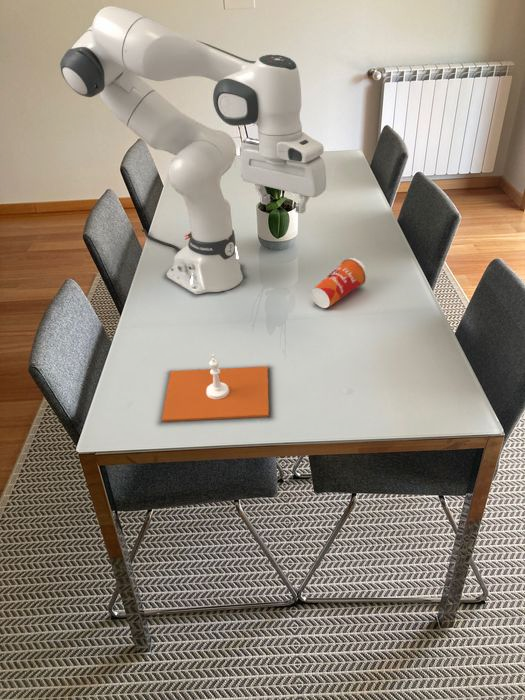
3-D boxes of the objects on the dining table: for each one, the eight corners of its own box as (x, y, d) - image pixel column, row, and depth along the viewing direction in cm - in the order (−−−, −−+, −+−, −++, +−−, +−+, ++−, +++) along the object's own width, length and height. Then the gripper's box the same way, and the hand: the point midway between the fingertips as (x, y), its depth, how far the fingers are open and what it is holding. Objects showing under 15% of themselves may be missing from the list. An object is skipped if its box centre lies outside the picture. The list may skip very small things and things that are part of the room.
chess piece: (229, 383, 131) (224, 346, 125) (229, 398, 127) (224, 361, 121) (206, 385, 131) (201, 348, 125) (205, 400, 127) (200, 362, 121)
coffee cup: (309, 278, 151) (346, 251, 159) (306, 301, 158) (341, 274, 165) (335, 295, 148) (371, 266, 155) (331, 317, 154) (366, 289, 162)
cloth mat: (162, 421, 123) (161, 419, 123) (171, 373, 136) (170, 371, 136) (268, 416, 123) (268, 414, 123) (267, 368, 136) (267, 366, 135)
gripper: (231, 140, 126) (236, 202, 134) (312, 156, 115) (313, 223, 123) (250, 132, 130) (254, 193, 138) (330, 146, 119) (329, 212, 127)
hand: (282, 207), depth 131 cm, fingers open, 8 cm apart
